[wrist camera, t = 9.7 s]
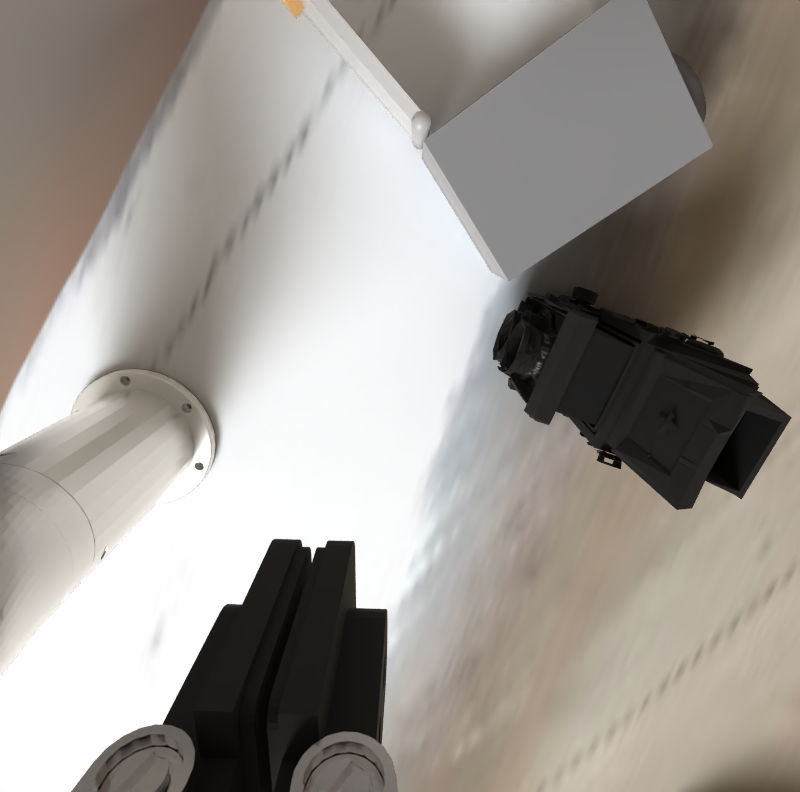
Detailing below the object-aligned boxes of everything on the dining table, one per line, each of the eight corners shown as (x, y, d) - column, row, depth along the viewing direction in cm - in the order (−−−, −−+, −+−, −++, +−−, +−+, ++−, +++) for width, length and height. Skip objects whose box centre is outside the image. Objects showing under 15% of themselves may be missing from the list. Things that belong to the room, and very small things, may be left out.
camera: (515, 264, 40) (606, 293, 21) (671, 320, 41) (890, 396, 22) (469, 378, 43) (512, 494, 24) (615, 428, 44) (767, 577, 25)
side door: (432, 140, 37) (435, 121, 31) (413, 159, 37) (413, 144, 31) (311, -3, 34) (287, -54, 28) (293, 19, 35) (266, -27, 29)
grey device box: (491, 272, 41) (508, 281, 33) (420, 156, 38) (421, 137, 30) (668, 153, 38) (732, 133, 30) (604, 19, 35) (656, -39, 28)
